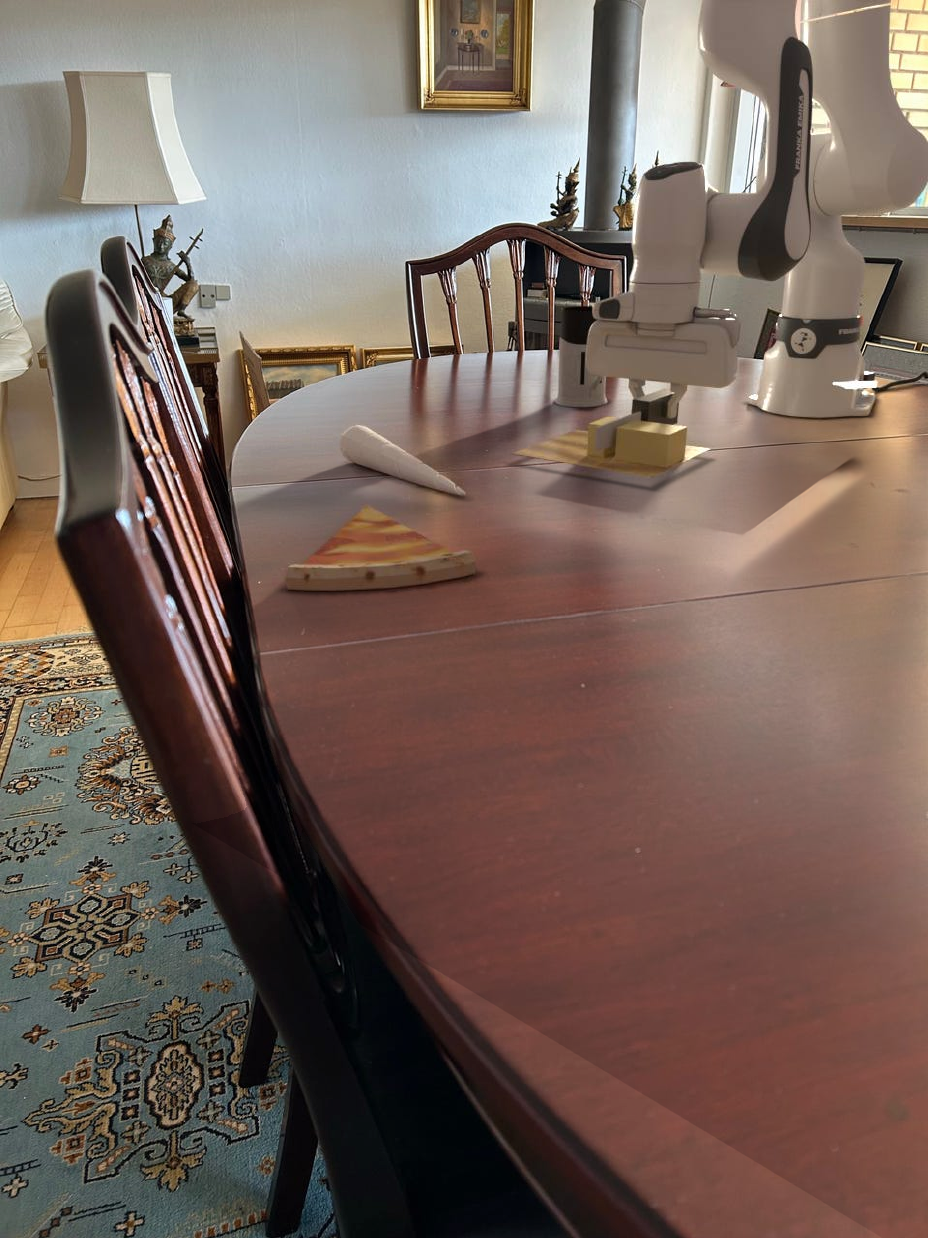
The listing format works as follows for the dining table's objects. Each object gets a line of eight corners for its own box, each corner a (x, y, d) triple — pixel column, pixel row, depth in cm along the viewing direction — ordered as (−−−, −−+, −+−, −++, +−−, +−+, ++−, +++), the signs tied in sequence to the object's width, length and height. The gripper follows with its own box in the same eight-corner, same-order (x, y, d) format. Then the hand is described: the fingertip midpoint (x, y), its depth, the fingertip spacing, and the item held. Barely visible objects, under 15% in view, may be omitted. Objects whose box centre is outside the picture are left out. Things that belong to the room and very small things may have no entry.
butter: (633, 451, 114) (635, 419, 113) (684, 458, 110) (687, 426, 109) (614, 459, 111) (616, 427, 109) (666, 467, 107) (669, 434, 105)
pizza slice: (507, 520, 95) (507, 502, 94) (459, 603, 75) (458, 581, 74) (367, 512, 98) (365, 494, 97) (286, 590, 79) (284, 569, 78)
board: (576, 439, 127) (576, 429, 126) (709, 459, 115) (710, 448, 115) (511, 464, 115) (511, 453, 115) (652, 489, 104) (653, 477, 103)
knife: (661, 420, 123) (663, 388, 121) (677, 423, 122) (680, 390, 120) (587, 450, 109) (588, 414, 107) (604, 453, 108) (606, 416, 106)
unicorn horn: (438, 505, 100) (437, 463, 98) (338, 463, 118) (336, 427, 116) (473, 497, 102) (472, 456, 100) (370, 457, 120) (368, 421, 118)
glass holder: (593, 395, 156) (596, 304, 149) (632, 410, 143) (637, 312, 137) (547, 399, 153) (548, 307, 147) (582, 415, 141) (586, 315, 135)
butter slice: (606, 446, 116) (607, 416, 115) (622, 449, 115) (624, 418, 113) (586, 455, 113) (588, 423, 111) (603, 457, 112) (604, 425, 110)
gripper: (752, 307, 109) (739, 420, 115) (605, 300, 121) (601, 403, 127) (731, 312, 105) (719, 429, 111) (581, 304, 116) (577, 410, 122)
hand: (655, 415), depth 119 cm, fingers closed on knife, 2 cm apart
